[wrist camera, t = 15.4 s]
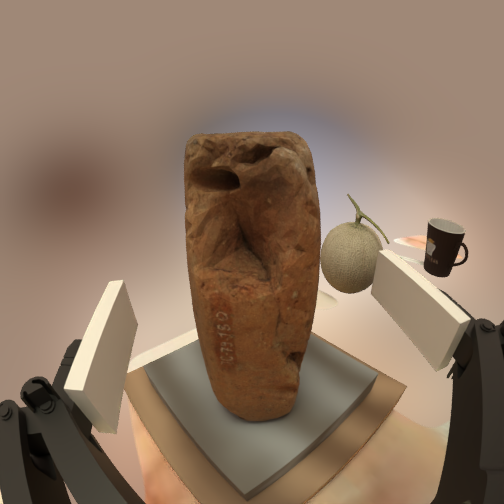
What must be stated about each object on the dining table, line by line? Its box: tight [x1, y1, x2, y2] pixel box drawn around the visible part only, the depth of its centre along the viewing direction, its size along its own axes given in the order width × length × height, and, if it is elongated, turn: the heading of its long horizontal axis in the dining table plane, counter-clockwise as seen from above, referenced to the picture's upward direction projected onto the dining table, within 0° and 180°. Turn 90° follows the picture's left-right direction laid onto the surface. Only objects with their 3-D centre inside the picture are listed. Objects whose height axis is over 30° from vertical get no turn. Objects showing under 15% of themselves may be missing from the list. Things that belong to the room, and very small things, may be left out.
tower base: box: [124, 332, 407, 504], centre depth 24 cm, size 22×22×6 cm
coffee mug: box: [424, 218, 468, 277], centre depth 45 cm, size 12×9×10 cm
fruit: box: [320, 194, 389, 294], centre depth 43 cm, size 10×12×15 cm
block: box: [184, 131, 321, 421], centre depth 19 cm, size 11×8×20 cm
